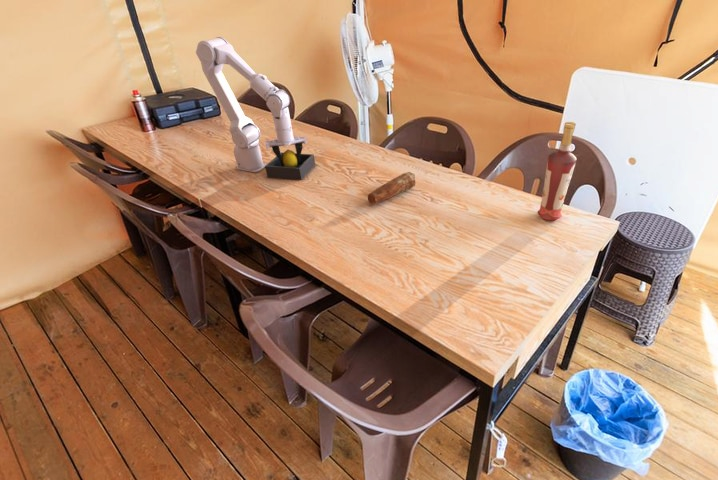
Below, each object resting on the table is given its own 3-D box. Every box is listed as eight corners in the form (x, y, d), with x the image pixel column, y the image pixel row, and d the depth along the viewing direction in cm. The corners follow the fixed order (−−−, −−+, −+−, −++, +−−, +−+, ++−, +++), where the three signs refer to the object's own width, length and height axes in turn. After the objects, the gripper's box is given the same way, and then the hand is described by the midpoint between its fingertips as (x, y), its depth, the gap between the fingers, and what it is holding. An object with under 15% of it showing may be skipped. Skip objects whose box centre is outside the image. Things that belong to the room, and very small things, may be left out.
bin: (267, 177, 148) (264, 166, 146) (283, 163, 159) (281, 152, 156) (301, 180, 146) (299, 168, 143) (315, 165, 156) (313, 154, 154)
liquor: (557, 226, 117) (581, 129, 100) (532, 219, 120) (552, 125, 103) (564, 215, 122) (588, 121, 105) (540, 209, 125) (559, 117, 108)
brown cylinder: (417, 189, 138) (417, 173, 135) (374, 208, 128) (373, 192, 124) (404, 183, 142) (404, 168, 138) (362, 201, 131) (361, 186, 128)
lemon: (295, 173, 149) (291, 152, 145) (281, 172, 150) (277, 152, 146) (301, 167, 154) (297, 147, 149) (288, 166, 155) (284, 146, 150)
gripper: (263, 133, 138) (271, 171, 146) (305, 128, 141) (311, 165, 149) (262, 127, 143) (270, 163, 151) (303, 122, 146) (308, 158, 155)
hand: (290, 164), depth 151 cm, fingers closed on lemon, 5 cm apart
